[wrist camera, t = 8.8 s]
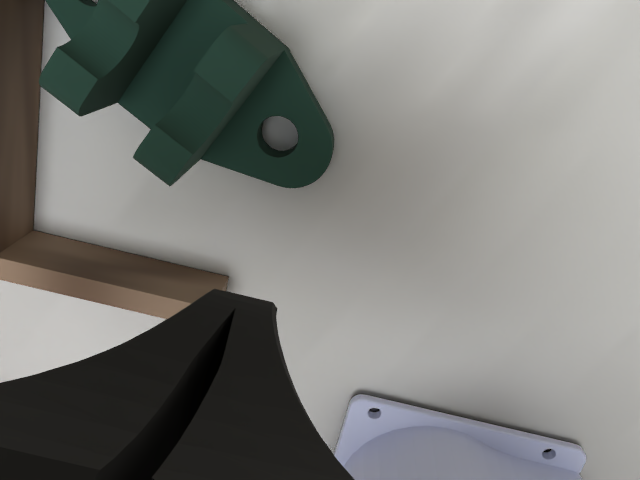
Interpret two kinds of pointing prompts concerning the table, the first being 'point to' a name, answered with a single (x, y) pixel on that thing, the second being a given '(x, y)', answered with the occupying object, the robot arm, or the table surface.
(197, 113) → the mount
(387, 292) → the table surface
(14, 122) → the dock bay
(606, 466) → the table surface
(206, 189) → the table surface
